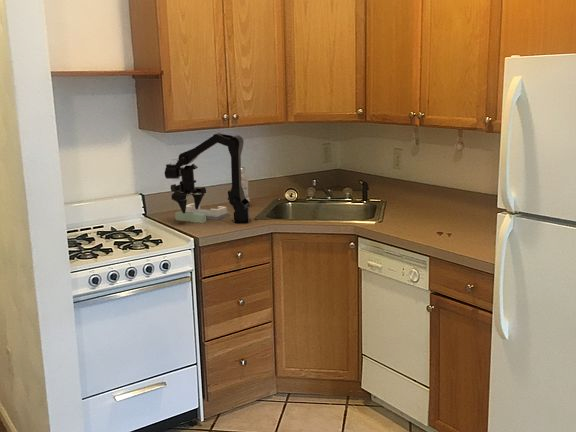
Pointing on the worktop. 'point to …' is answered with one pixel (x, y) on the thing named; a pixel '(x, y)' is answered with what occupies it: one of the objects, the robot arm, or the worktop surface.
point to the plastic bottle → (244, 183)
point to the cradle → (209, 212)
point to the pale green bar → (190, 216)
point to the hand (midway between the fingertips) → (190, 211)
